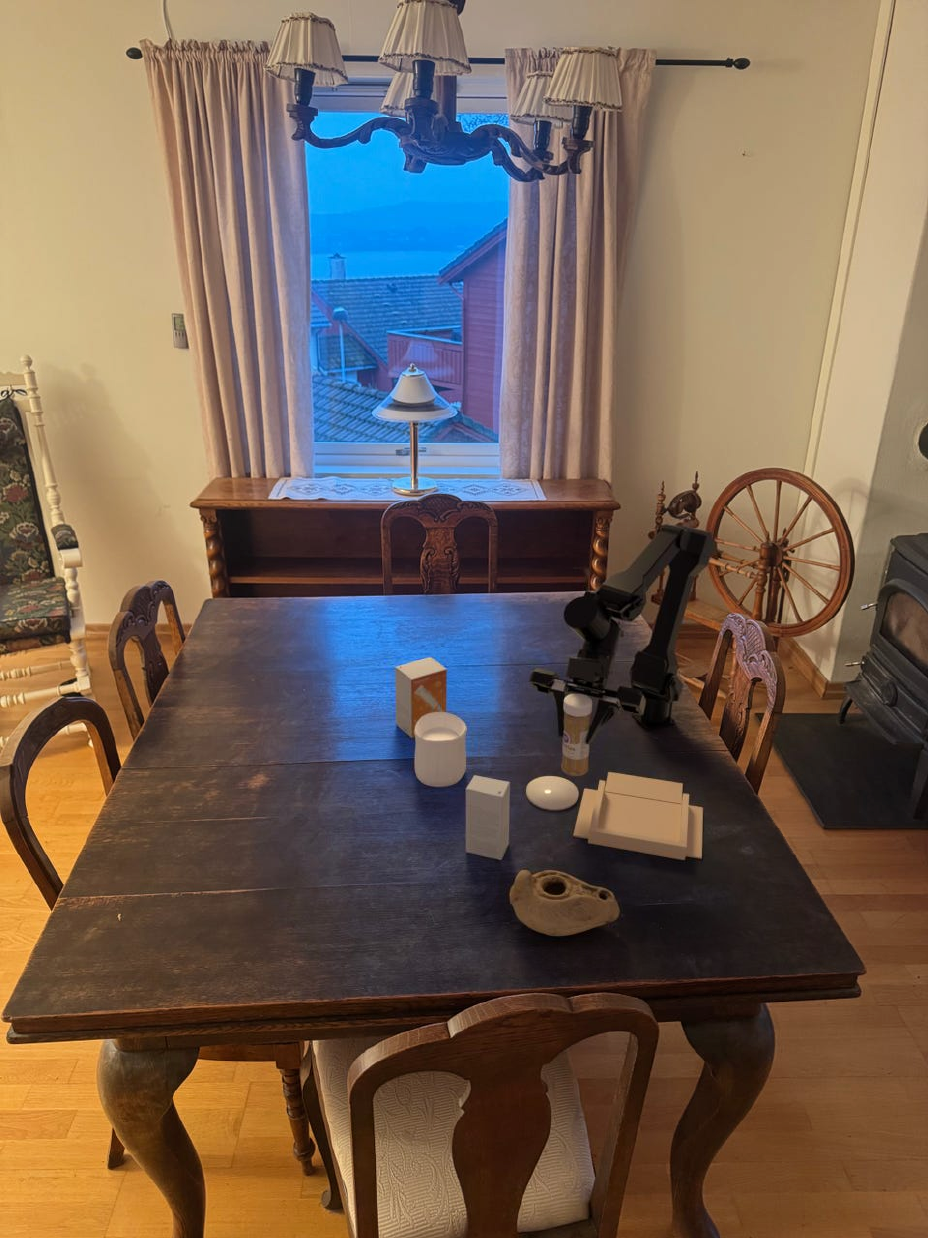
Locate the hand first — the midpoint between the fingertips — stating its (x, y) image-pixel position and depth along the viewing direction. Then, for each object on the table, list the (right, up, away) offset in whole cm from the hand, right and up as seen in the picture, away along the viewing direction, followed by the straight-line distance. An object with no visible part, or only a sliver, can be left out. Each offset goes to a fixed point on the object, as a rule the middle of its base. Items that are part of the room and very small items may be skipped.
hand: (573, 740), depth 137 cm
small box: (-26, -1, +29) cm, 39 cm away
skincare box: (-14, -17, -4) cm, 22 cm away
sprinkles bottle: (+1, -6, +4) cm, 7 cm away
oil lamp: (-4, -23, -18) cm, 29 cm away
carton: (+12, -13, +4) cm, 18 cm away
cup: (-22, -8, +15) cm, 28 cm away
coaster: (-3, -10, +9) cm, 14 cm away
